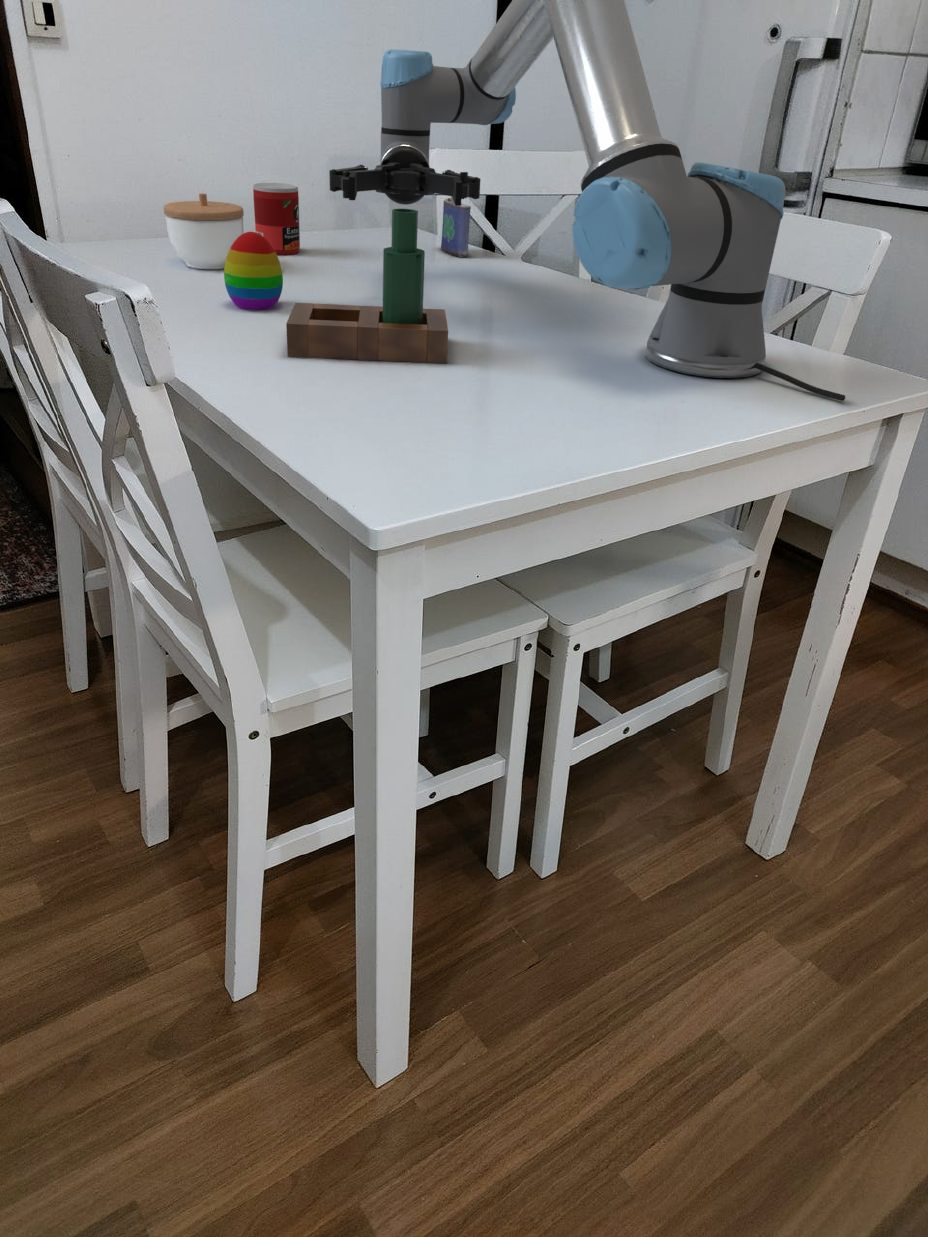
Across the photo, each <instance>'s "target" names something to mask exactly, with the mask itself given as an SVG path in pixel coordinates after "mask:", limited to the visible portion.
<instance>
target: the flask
mask: <svg viewBox="0 0 928 1237" xmlns="http://www.w3.org/2000/svg"><path fill="white" fill-rule="evenodd" d="M442 210H443V211H442V228H441V243H440V250H441V251H442V252H444V253H447V254H449V255H451V256H453V257H459V258H465V257H466V258H468V256H469V240H470V238H469V237H470V236H469V235H470V221H471V205H468V204H464V203H461V206H455V204H454V201H453V197H452V196H450V197H447V198H445V199H444V200H443V207H442Z"/></svg>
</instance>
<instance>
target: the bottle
mask: <svg viewBox="0 0 928 1237" xmlns="http://www.w3.org/2000/svg"><path fill="white" fill-rule="evenodd" d="M418 222H419V211H418V210H417V209H413V208H393V209H391V246H388V247H384V248H383V252H382V253H383V255H382V257H383V258H382V259H383V261H382V262H383V264H382V307H383V323H398V324H420V325H422V319H423V308H424V290H425V289H424V286H425V283H424V282H425V256H426V255H425V254H426V251H425V250H424V249H421V248H418V228H419V227H418V226H419V225H418V224H419V223H418Z"/></svg>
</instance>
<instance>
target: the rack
mask: <svg viewBox="0 0 928 1237" xmlns="http://www.w3.org/2000/svg"><path fill="white" fill-rule="evenodd" d="M285 324H286V325H285V326H286V327H285V328H286V349H287V350H286V351H287V352H286V353H287V357H289V358H306V359H308V358H309V359H310V358H311V359H330V360H331V359H333V360H353V361H356V360H358V361H380V362H381V361H383V362H407V363H432V364H433V363H434V364H447V363H448V348H449V346H448V345H449V327H448V322H447V315H446V309H443V308H426V307H425V308H424V307H423V319H422V325H420V324H398V323H383V306H382V305H381V306H380V305H379V306H378V305H357V304H334V303H313V302H312V303H311V302H295V303H294V305H293V307H292V309H291V312H290V314H289V316H288V319H287V321H286V323H285Z"/></svg>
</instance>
